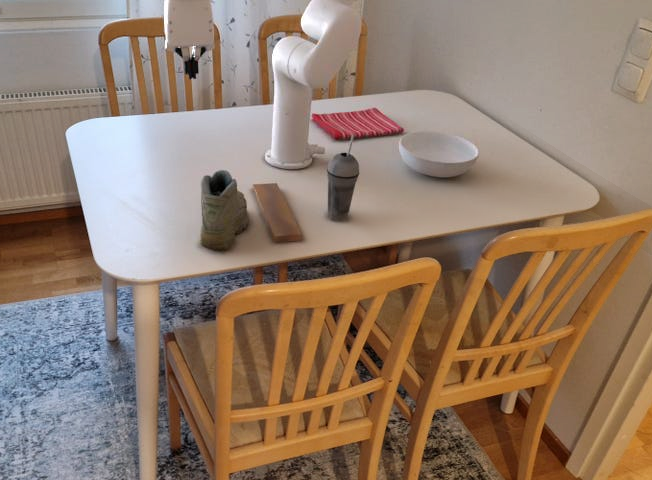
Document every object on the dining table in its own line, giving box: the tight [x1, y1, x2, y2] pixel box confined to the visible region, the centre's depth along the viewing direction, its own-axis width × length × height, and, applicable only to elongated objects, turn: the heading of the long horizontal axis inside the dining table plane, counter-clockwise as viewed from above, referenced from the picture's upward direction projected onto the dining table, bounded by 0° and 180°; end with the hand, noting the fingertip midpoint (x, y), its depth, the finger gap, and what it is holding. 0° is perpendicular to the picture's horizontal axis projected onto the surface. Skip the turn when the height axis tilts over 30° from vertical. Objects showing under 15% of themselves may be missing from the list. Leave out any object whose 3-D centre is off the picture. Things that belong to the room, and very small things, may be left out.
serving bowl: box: [398, 130, 480, 178], centre depth 169 cm, size 21×21×7 cm
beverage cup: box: [326, 135, 360, 222], centre depth 141 cm, size 7×7×20 cm
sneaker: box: [199, 169, 250, 251], centre depth 134 cm, size 11×19×15 cm, turn 155°
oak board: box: [252, 182, 303, 244], centre depth 145 cm, size 6×24×2 cm, turn 14°
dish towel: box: [311, 107, 405, 141], centre depth 191 cm, size 17×24×3 cm
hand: (191, 76), depth 140 cm, fingers closed
